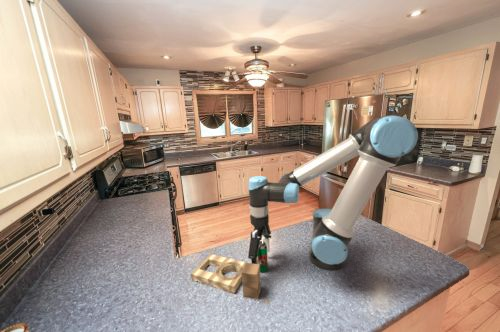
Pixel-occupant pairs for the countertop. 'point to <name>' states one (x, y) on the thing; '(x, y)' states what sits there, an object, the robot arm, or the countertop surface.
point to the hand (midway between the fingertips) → (261, 260)
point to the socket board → (220, 273)
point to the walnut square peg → (251, 280)
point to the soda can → (262, 256)
